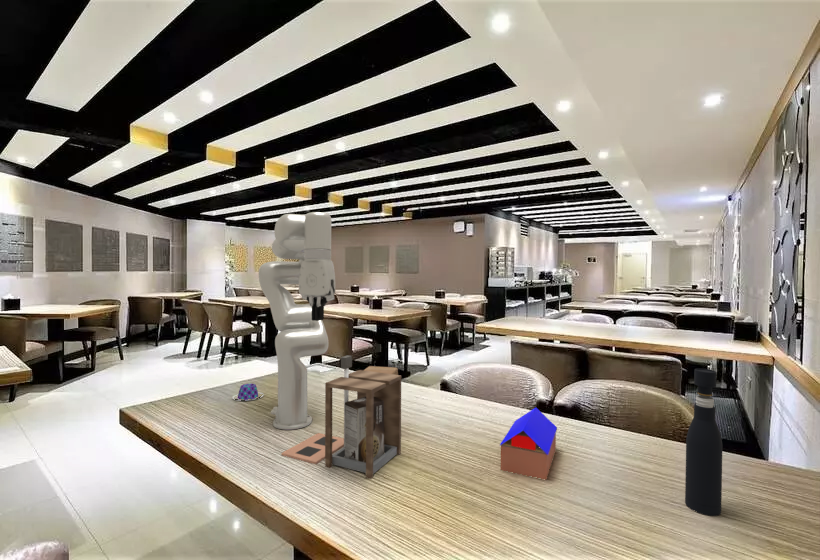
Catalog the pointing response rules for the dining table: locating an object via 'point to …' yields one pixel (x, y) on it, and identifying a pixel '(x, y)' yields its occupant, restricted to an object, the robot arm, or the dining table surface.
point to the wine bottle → (704, 450)
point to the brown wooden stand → (368, 409)
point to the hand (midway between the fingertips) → (317, 320)
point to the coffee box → (363, 429)
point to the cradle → (339, 455)
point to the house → (529, 445)
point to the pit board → (313, 448)
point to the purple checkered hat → (248, 392)
